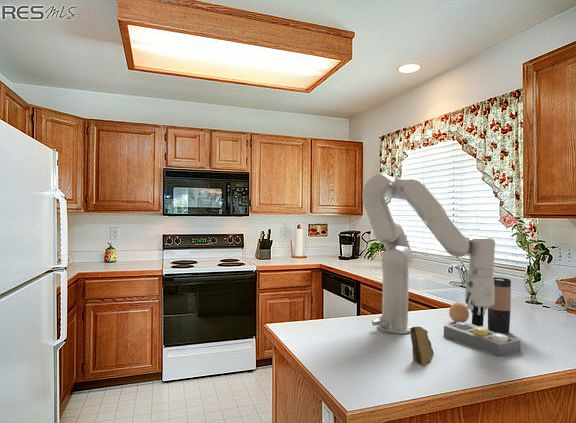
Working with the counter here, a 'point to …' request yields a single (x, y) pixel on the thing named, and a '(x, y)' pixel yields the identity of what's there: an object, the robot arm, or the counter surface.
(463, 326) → the slate button
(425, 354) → the rock
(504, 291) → the travel mug
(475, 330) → the mustard button
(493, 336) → the ivory button
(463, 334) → the button console
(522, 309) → the counter surface
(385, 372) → the counter surface
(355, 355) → the counter surface
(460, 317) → the egg
